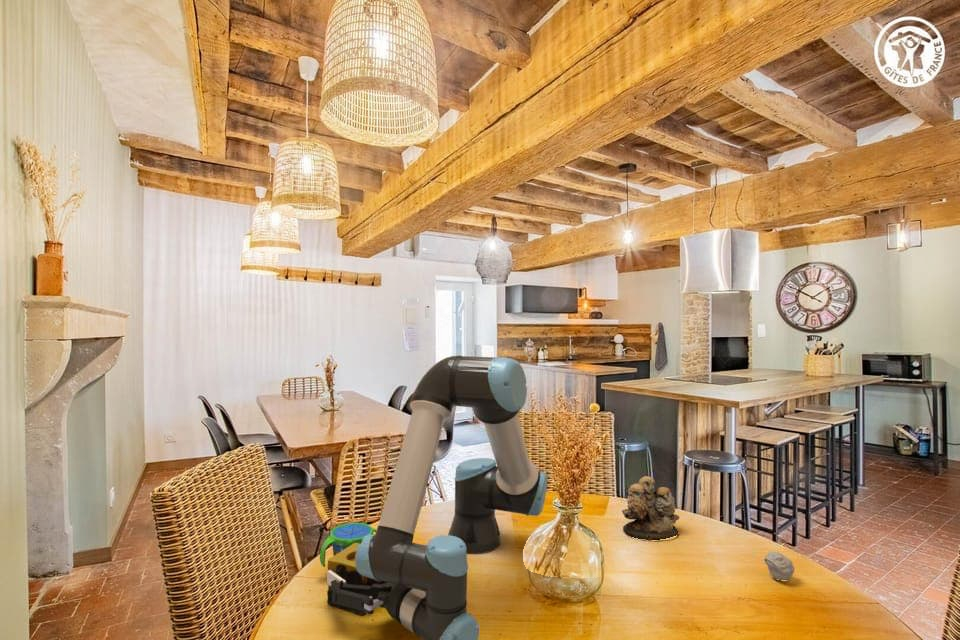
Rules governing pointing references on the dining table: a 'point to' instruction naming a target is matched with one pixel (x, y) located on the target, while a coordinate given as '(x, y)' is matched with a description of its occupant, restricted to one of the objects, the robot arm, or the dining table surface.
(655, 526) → the owl figurine
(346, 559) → the candle
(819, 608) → the dining table surface
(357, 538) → the snack cup
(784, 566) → the grey rounded lump
